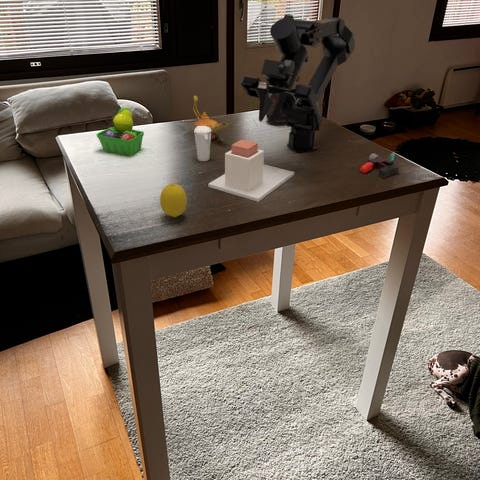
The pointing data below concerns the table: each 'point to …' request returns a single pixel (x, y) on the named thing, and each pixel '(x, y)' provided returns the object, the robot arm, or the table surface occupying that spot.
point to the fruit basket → (121, 135)
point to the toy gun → (381, 165)
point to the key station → (249, 176)
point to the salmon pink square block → (244, 148)
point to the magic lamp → (207, 121)
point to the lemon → (173, 200)
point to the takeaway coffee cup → (203, 142)
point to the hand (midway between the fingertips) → (265, 122)
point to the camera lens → (274, 99)
